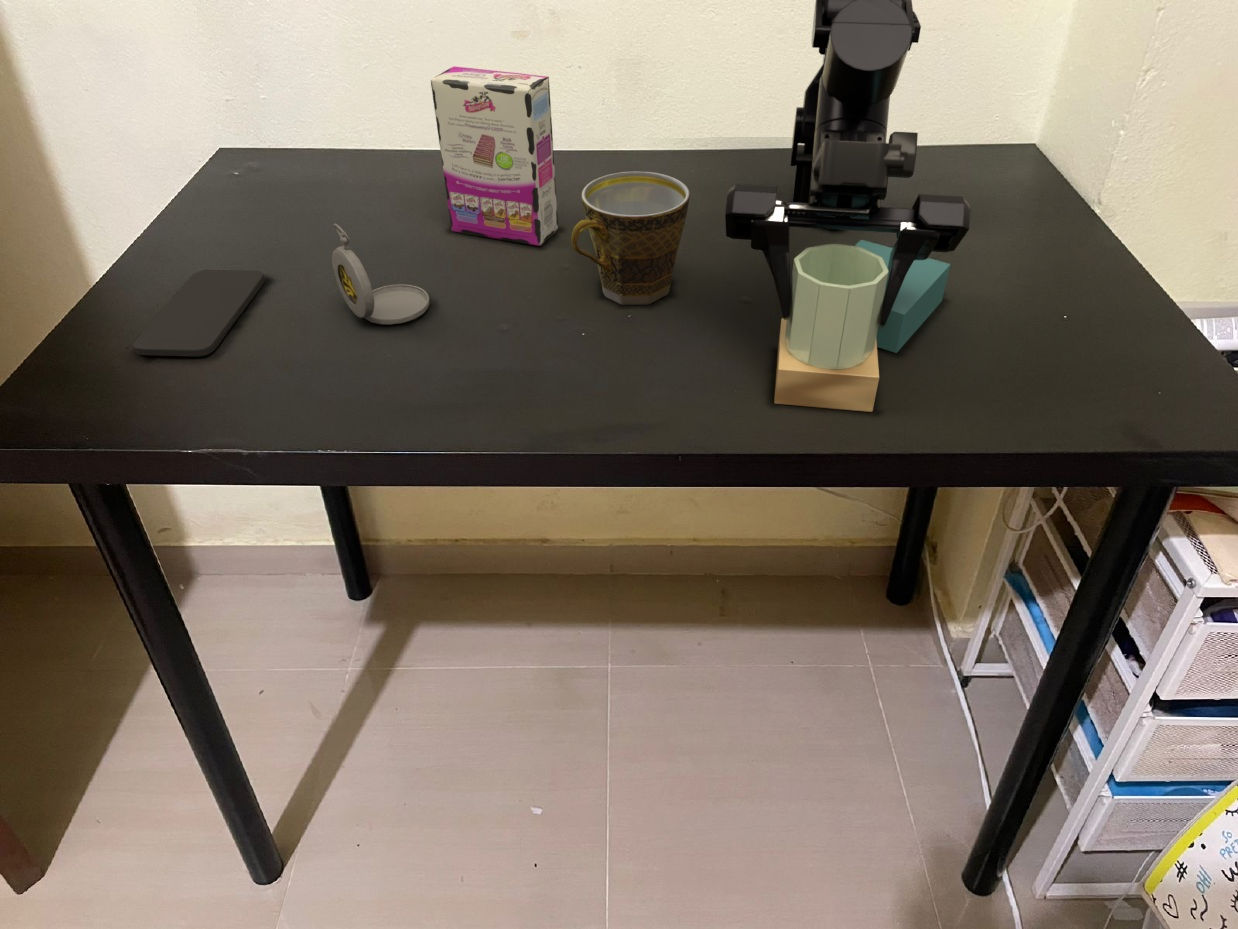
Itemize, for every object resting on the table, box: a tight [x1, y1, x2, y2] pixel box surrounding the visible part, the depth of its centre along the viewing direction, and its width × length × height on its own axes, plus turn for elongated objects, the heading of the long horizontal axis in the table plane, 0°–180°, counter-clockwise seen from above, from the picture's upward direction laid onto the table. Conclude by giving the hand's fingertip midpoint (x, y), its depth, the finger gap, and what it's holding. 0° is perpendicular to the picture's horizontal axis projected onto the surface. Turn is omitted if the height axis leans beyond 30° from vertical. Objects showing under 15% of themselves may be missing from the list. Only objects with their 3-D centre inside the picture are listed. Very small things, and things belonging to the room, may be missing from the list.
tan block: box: [773, 317, 880, 413], centre depth 80 cm, size 8×8×4 cm
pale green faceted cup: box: [785, 243, 889, 369], centre depth 76 cm, size 7×7×8 cm
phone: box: [132, 269, 266, 357], centre depth 90 cm, size 7×1×15 cm
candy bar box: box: [430, 66, 559, 247], centre depth 98 cm, size 11×5×16 cm, turn 68°
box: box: [854, 239, 951, 354], centre depth 88 cm, size 9×11×4 cm
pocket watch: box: [331, 222, 430, 326], centre depth 87 cm, size 8×8×10 cm
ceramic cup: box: [570, 171, 691, 306], centre depth 89 cm, size 13×10×10 cm
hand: (833, 322), depth 75 cm, fingers closed on pale green faceted cup, 7 cm apart
